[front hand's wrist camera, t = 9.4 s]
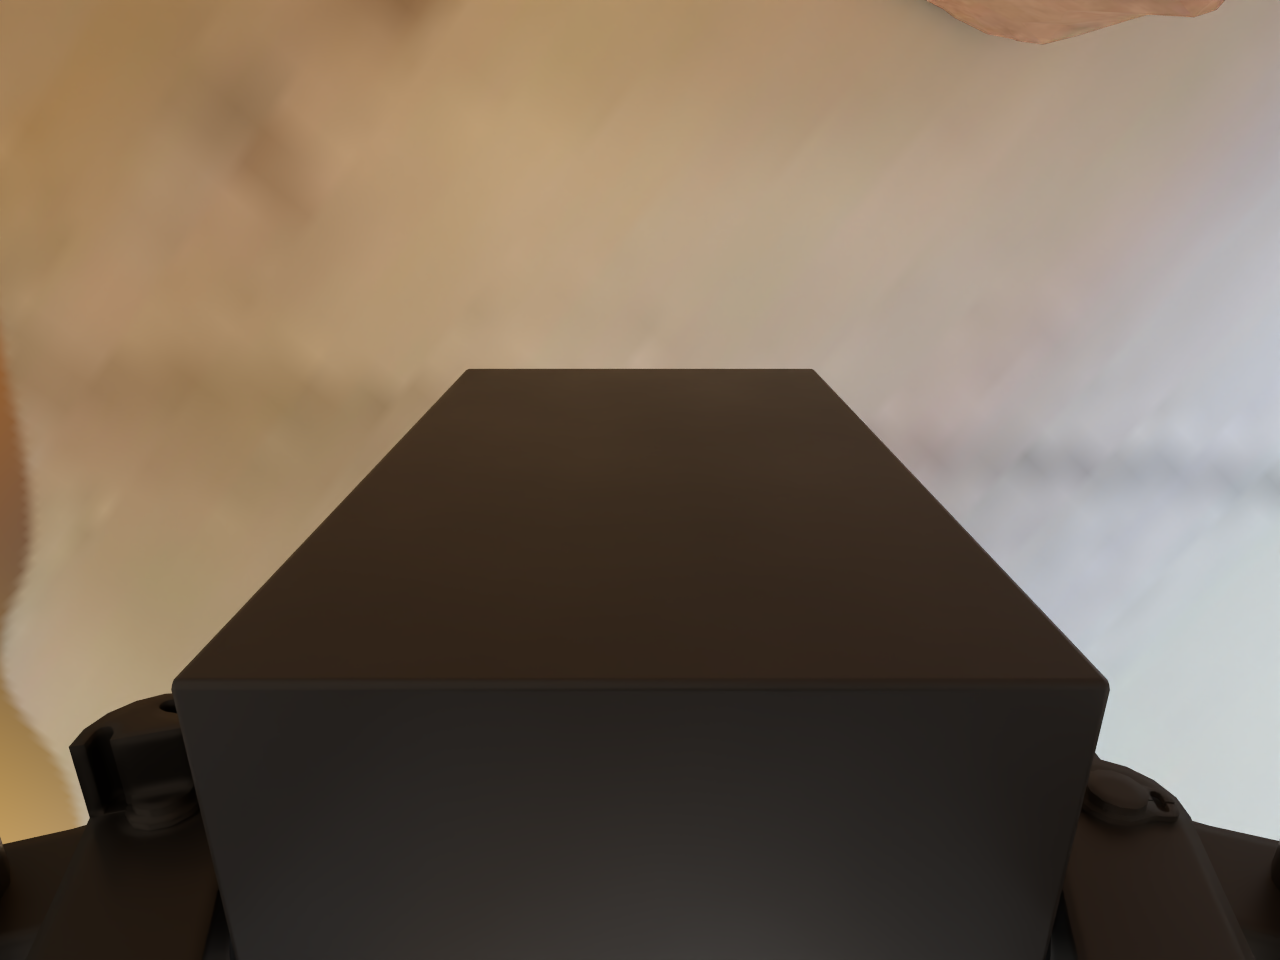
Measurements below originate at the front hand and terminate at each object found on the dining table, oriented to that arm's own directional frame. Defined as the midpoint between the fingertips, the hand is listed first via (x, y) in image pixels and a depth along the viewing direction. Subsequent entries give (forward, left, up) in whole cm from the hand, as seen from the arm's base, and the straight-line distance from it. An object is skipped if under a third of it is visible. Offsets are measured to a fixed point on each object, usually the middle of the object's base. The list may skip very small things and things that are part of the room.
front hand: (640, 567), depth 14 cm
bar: (+10, +3, 0) cm, 10 cm away
